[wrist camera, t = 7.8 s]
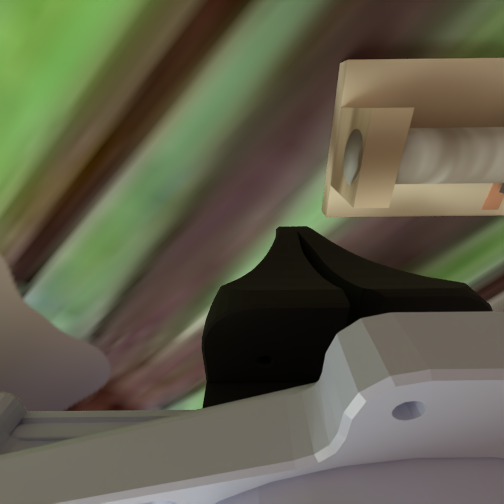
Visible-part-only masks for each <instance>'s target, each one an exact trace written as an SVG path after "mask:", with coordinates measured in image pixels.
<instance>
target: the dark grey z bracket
mask: <svg viewBox="0 0 504 504" xmlns="http://www.w3.org/2000/svg"><path fill="white" fill-rule="evenodd" d="M499 192H500V193H503V194H504V183H503V184H502V187H501V189H500V191H499Z"/></svg>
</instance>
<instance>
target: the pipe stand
mask: <svg viewBox="0 0 504 504" xmlns="http://www.w3.org/2000/svg"><path fill="white" fill-rule="evenodd" d="M503 183H504V58H446V59H366V60H346V61H344V62H342V63H340V68H339V76H338V84H337V92H336V100H335V108H334V116H333V124H332V132H331V140H330V148H329V156H328V164H327V172H326V180H325V188H324V196H323V204H322V212H323V213H324V215H325V216H326V217H379V216H477V215H504V194H503V193H500V192H499V191H500V189H501V187H502V184H503Z"/></svg>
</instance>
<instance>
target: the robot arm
mask: <svg viewBox="0 0 504 504" xmlns="http://www.w3.org/2000/svg"><path fill="white" fill-rule="evenodd" d="M202 353H203V360H204V366H205V373H206V380H207V384H206V390H205V396H204V402H203V408H202V409H198V410H142V411H41V412H26V409H25V407H24V405H23V403H22V402H21V400H20V399H19V398H18V397H16V396H15V395H13V394H10V393H7V392H0V504H504V311H493V310H492V308H491V306H490V304H488V303H487V302H486V301H485V300H484V299H483V298H482V297H480V296H479V295H478V294H477V293H476V292H475V291H474V290H472V289H471V288H470V287H469V286H468V285H467V284H465V283H460V282H454V281H448V280H442V279H436V278H430V277H425V276H421V275H416V274H412V273H408V272H404V271H400V270H396V269H393V268H390V267H387V266H384V265H380V264H377V263H375V262H372V261H369V260H367V259H365V258H362V257H360V256H358V255H355V254H353V253H351V252H349V251H347V250H345V249H343V248H342V247H340V246H338V245H336V244H335V243H333V242H331V241H330V240H328V239H326V238H325V237H323V236H322V235H320V234H319V233H317V232H316V231H314V230H312V229H311V228H309V227H307V226H298V227H278V228H277V229H276V238H275V240H274V243H273V245H272V247H271V248H270V250H269V252H268V253H267V255H266V256H265V257H264V259H263V260H262V261H261V262H260V263H259V264H258V265H257V266H256V267H255V268H254V269H253V270H252V271H250V272H249V273H247V274H246V275H244V276H243V277H241V278H239V279H237V280H235V281H232V282H230V283H228V284H226V285H223V286H221V287H220V289H219V291H218V293H217V295H216V297H215V299H214V301H213V303H212V305H211V307H210V310H209V313H208V315H207V318H206V322H205V326H204V331H203V336H202Z"/></svg>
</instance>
